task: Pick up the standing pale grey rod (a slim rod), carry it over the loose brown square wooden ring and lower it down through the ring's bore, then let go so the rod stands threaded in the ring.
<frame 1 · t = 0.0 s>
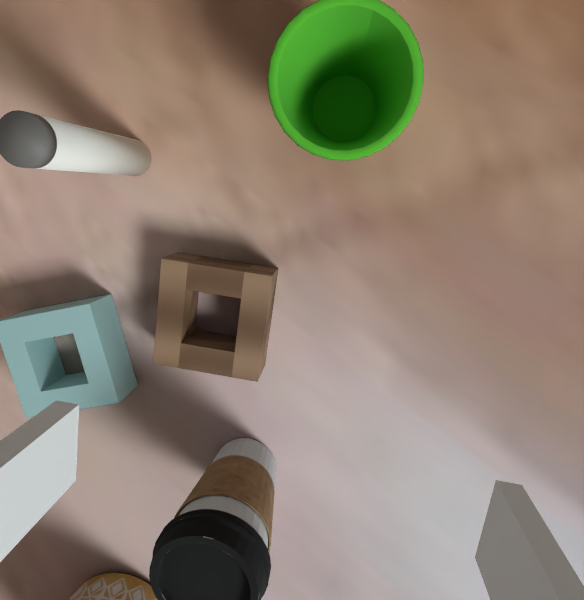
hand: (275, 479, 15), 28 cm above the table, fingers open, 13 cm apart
brown square wooden ring: (222, 309, 43), on the table
cup: (343, 110, 39), on the table
teal square ring: (80, 348, 46), on the table
pale grey rod: (134, 157, 41), on the table
coffee cup: (246, 464, 47), on the table
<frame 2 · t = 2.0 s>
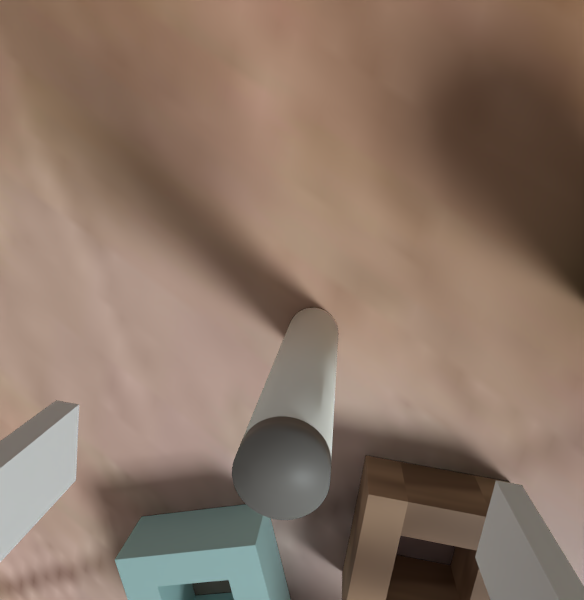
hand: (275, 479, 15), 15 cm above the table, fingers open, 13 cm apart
brown square wooden ring: (422, 529, 31), on the table
teal square ring: (218, 565, 34), on the table
pale grey rod: (313, 331, 29), on the table
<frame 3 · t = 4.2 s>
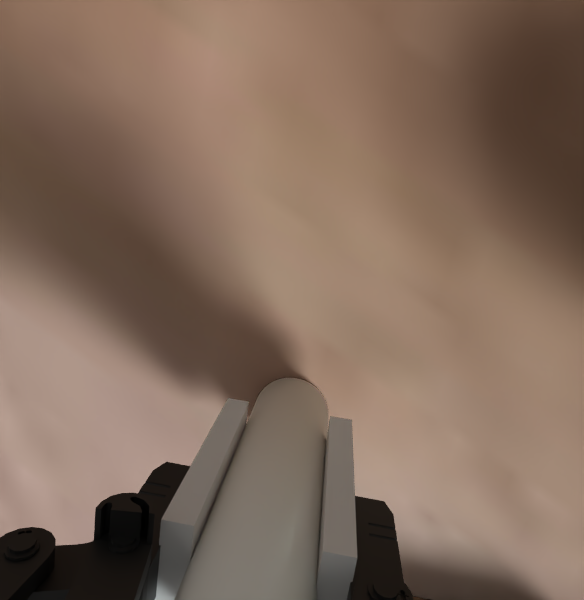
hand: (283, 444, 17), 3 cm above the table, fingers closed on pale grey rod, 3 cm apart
pale grey rod: (291, 412, 20), on the table, touching gripper
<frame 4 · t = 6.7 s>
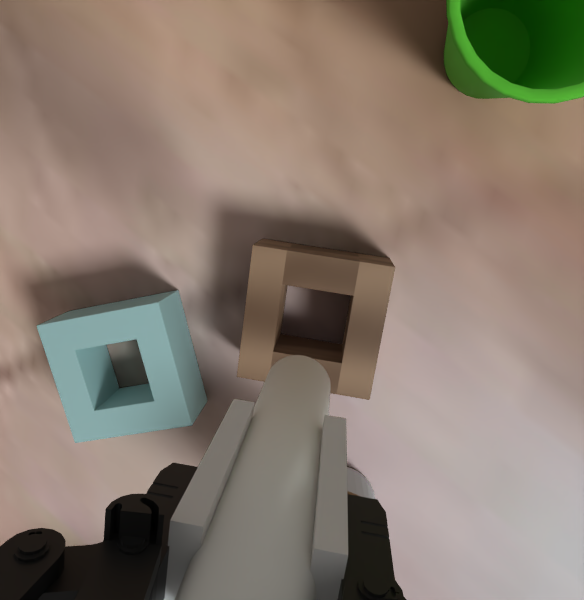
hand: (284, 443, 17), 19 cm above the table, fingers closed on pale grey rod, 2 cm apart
brown square wooden ring: (315, 309, 35), on the table
cup: (484, 56, 31), on the table
teal square ring: (138, 356, 38), on the table
pale grey rod: (298, 385, 22), point 13 cm above the table, touching gripper
coffee cup: (337, 496, 39), on the table
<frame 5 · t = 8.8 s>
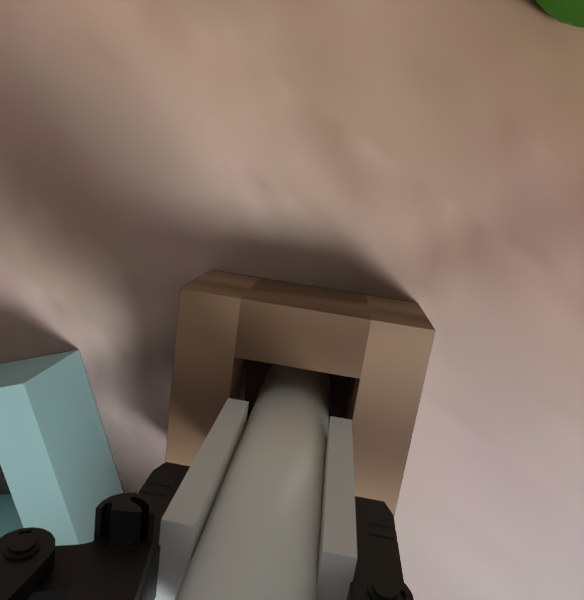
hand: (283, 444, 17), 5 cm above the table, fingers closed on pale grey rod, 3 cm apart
brown square wooden ring: (297, 383, 22), on the table
teal square ring: (22, 449, 24), on the table
pale grey rod: (297, 386, 22), on the table, touching gripper
when the fingers open (5 cm above the table, at t = 9.5 s): pale grey rod stays where it is, on the table.
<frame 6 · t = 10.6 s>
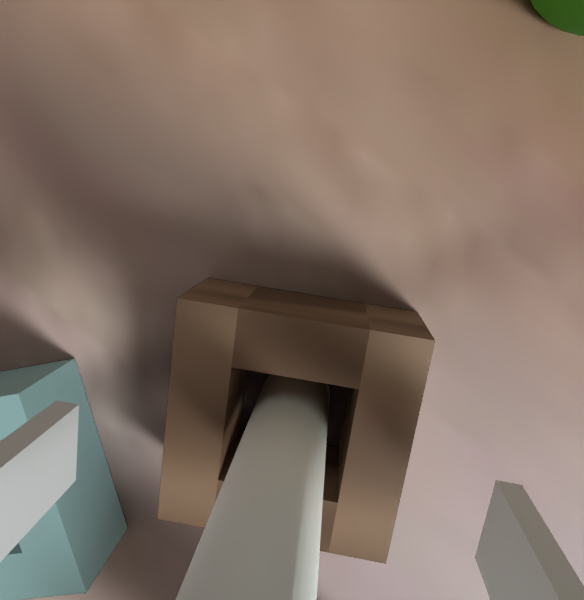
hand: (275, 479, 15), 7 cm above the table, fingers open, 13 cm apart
brown square wooden ring: (295, 392, 22), on the table
teal square ring: (18, 458, 24), on the table
pale grey rod: (295, 394, 22), on the table
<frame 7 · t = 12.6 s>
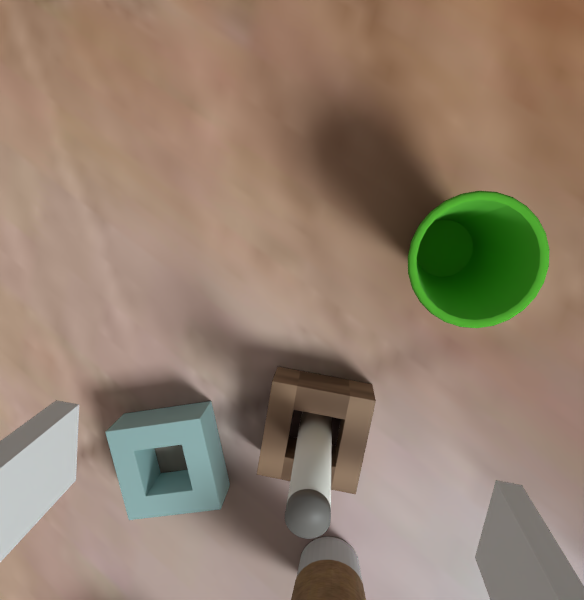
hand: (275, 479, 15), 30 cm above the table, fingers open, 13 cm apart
brown square wooden ring: (316, 419, 46), on the table
cup: (441, 247, 43), on the table
teal square ring: (177, 449, 48), on the table
pale grey rod: (316, 420, 46), on the table
coffee cup: (329, 560, 49), on the table
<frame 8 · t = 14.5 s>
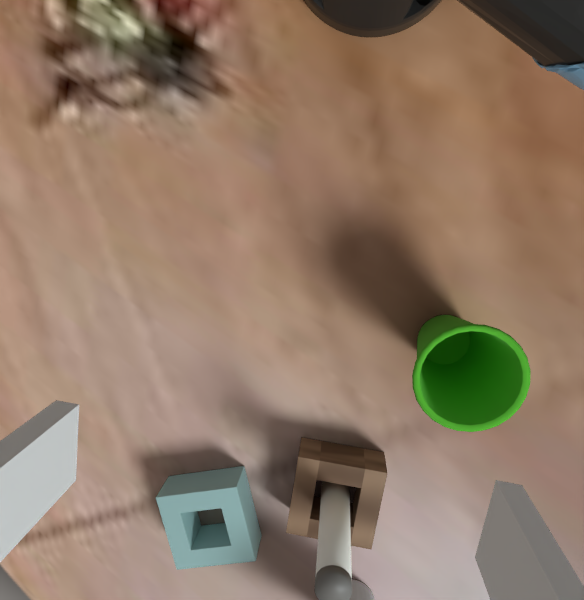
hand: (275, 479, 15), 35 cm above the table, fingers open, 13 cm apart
brown square wooden ring: (335, 481, 54), on the table
cup: (442, 338, 49), on the table
teal square ring: (215, 505, 56), on the table
pale grey rod: (335, 481, 54), on the table
coffee cup: (348, 598, 57), on the table
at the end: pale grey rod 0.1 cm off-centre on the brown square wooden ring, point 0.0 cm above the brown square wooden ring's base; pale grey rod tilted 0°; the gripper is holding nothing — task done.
